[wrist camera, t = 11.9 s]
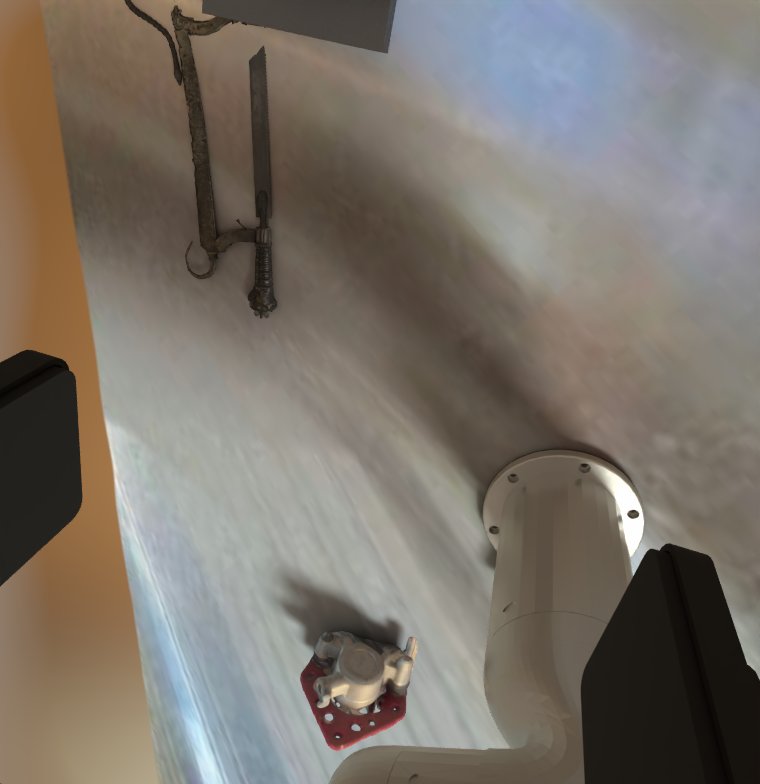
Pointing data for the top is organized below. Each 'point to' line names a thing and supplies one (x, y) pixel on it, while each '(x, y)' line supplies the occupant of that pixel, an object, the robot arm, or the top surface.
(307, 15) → the sleeve
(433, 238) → the top surface
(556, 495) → the robot arm
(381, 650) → the brake caliper
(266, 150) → the hacksaw
